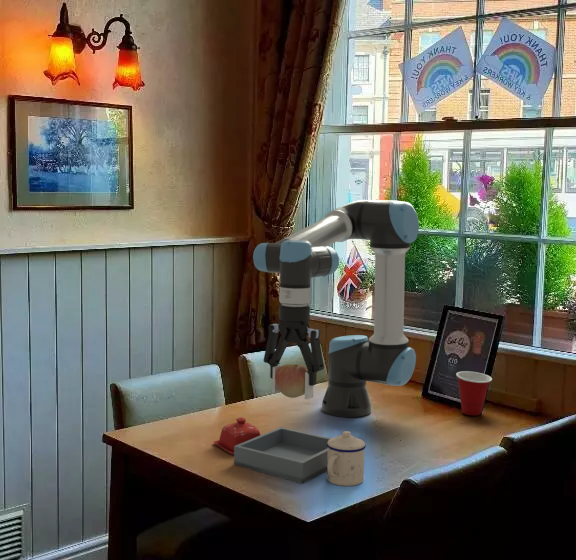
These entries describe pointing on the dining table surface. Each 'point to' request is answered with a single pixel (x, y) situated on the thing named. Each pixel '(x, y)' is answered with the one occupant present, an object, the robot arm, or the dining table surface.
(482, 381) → the plastic cup
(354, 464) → the teacup with lid
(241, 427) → the butter dish
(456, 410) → the dining table surface
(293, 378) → the apple
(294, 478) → the bin
